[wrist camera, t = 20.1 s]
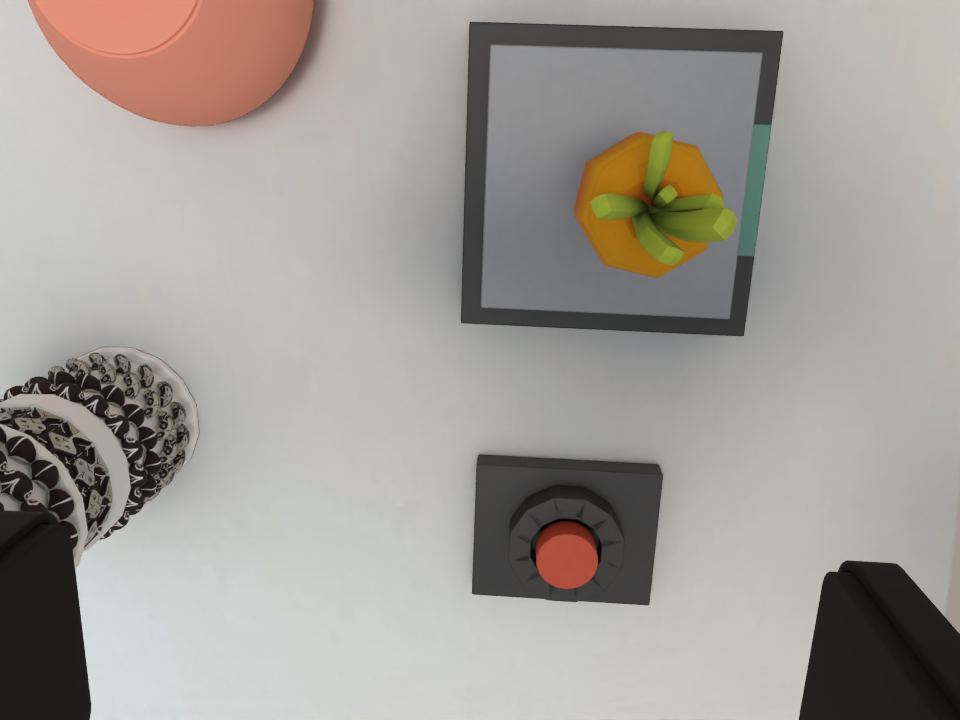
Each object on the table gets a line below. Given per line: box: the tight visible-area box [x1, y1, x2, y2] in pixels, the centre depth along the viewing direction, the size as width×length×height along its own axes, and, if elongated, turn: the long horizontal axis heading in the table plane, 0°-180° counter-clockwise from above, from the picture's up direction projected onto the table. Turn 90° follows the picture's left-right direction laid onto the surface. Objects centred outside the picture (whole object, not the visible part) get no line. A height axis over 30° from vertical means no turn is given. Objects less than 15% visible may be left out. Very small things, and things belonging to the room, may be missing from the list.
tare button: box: [536, 521, 598, 589], centre depth 41 cm, size 3×3×2 cm
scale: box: [461, 22, 783, 336], centre depth 38 cm, size 14×14×3 cm
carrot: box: [574, 131, 738, 278], centre depth 29 cm, size 5×5×15 cm
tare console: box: [472, 455, 663, 605], centre depth 43 cm, size 10×8×3 cm
